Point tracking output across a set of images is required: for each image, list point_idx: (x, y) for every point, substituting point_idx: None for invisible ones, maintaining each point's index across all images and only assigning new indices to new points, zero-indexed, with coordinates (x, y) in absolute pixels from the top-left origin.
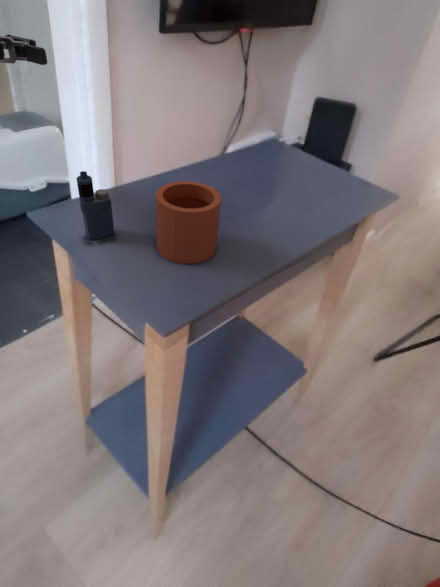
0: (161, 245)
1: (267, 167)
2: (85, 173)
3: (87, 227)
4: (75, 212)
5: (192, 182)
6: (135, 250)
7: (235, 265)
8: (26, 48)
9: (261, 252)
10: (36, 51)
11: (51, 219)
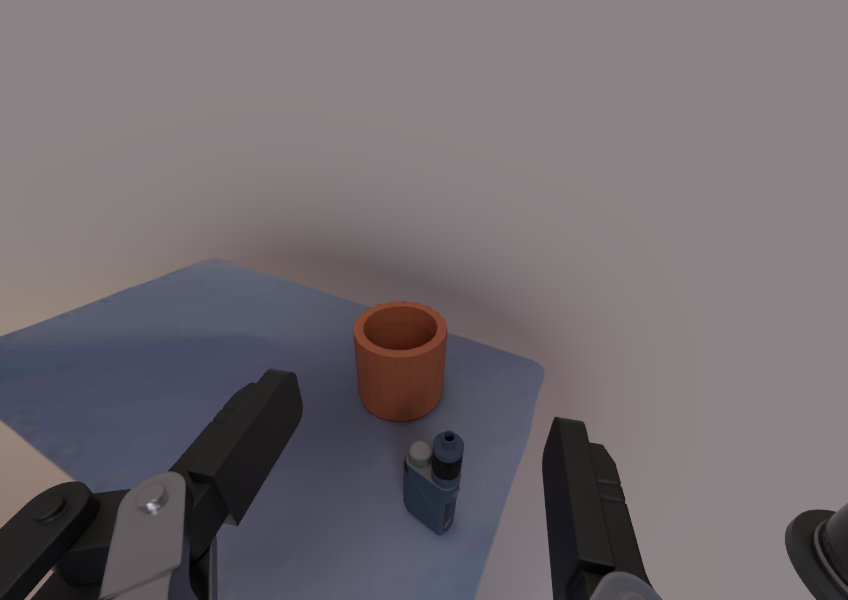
0: (437, 393)
1: (100, 354)
2: (449, 431)
3: (452, 508)
4: None
5: (357, 331)
6: None
7: None
8: (229, 471)
9: None
10: (275, 407)
11: None
